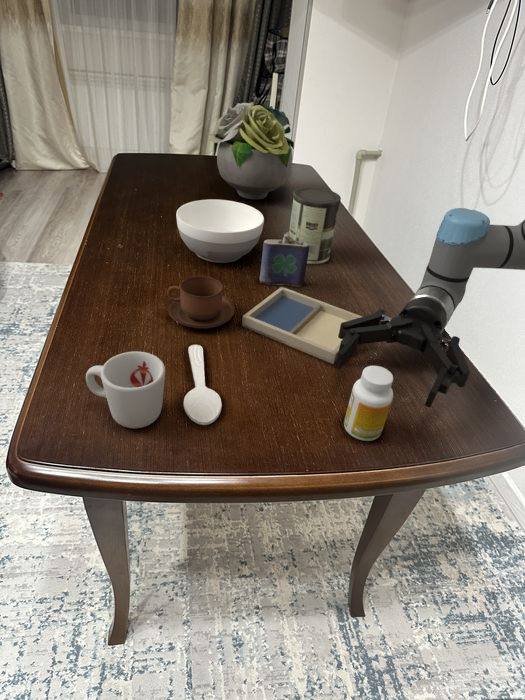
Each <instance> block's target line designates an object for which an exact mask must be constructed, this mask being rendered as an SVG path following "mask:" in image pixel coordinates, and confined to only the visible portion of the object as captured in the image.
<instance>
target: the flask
mask: <svg viewBox="0 0 525 700" xmlns="http://www.w3.org/2000/svg"><path fill="white" fill-rule="evenodd" d="M283 234H284V235H283V237H282V239H265V240H264V241H263V244H262V254H261V255H262V256H261V264H260V274H259V282H260V284H264V285H275V286H287V287H288V286H292V287H303V285H304V283H305V278H306V271H307V265H308V264H307V259H308V253H309V244H307V243H306V242H302V241H301V240H298V241H297V240H293V239H292V238H291V237H290V232H289V231H287V232H283ZM299 241H300V242H299Z"/></svg>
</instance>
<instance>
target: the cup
mask: <svg viewBox="0 0 525 700" xmlns="http://www.w3.org/2000/svg"><path fill="white" fill-rule="evenodd" d="M95 376H98V377H99V378H100V379H101V382H102V386H103V387H101V386H100V385H99V384H98V383H97V381H96V378H95ZM165 380H166V367H165V364H164V362H163V361H162V359H160V358H159V357H158V356H156V355H155V354H152V353H150V352H146V351H126V352H122V353H119V354H116V355H114V356H112V357H110V358H109V359H107V361H106V362H105V363H104V364H103V365H94V366H91V367H90V368H88V370H87V371H86V373H85V382H86V386H87V388H88V389H89V391H90V392H91V393H92V394H93V395H95V396H98V397H102V398H105V399H106V401H107V404H108V408H109V411H110V414H111V416H112V418H113V420H114V421H115V422H116V423H117V424H118V425H120V426H122V427H124V428H127V429H141V428H145V427H148V426H149V425H151V424H153V423H154V422H156V420H158V418H159V416H160V415H161V412H162V407H163V399H164V392H165V391H164V389H165Z"/></svg>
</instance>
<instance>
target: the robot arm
mask: <svg viewBox="0 0 525 700" xmlns="http://www.w3.org/2000/svg"><path fill="white" fill-rule="evenodd" d="M490 219H491V218H490V217H489V216H488V215H487V214H485V213H484V212H482V211H479V210H476V209H470V208H467V207H455V208H451V209H449V210H447V211H446V212H445V214H444V216H443V217H442V220H441V222H440V224H439V227H438V230H437V232H436V234H435V235H436V236H435V240H434V244H433V248H432V251H431V254H430V258H429V261H428V263H427V266H426V268H425V270H424V274H423V277H422V280H421V283H420V286H419V288H418V289H417V290H416V292H415V293H414V294H413V296H411V298H410V299H409V300H408V302H407V303H406V304H405V306H404V307H403V308H402V309H401V311H400V312H399V313H398V315H396V316H394V317H390V316H387V315H386V310H385V309H382V308H379V309H378V310H376V311H375V312H374V313H370V314H367V315H365V316H364V315H363V316H362V317H360V318H357V319H353V320H350V321H346V322H343V323H341V326H340V330H339V335H338V337H339V338H340V339H342V341H341V343H340V347H339V352H338V356H337V360H336V362H335V363H334V368H335V369H337V370H340V369H342V367H343V366H344V364H345V363H346V362H347V361H348V359H349V358H351V356H352V355H353V353H354V352H355V351H356V350H357V347H358V345H365V344H373V343H382V342H385V343H387V344H392V343H397V344H400V345H403V346H407V347H409V348H410V349H413V350H415V351H416V350H418V351H419V352H420V354H421V355H422V358H426V359H427V360H428V362H429V364H430V365H431V366H432V368H433V369H434V370H435V372H436V373H437V376H436V378H435V380H434V382H433V384H432V386H431V388H430V391H429V393H428V396H427V398H426V400H425V402H424V403H425V404H424V407H427V408H429V409H430V408H431V407H432V404H433V402H434V401H435V398H436V396H437V395H438V393H441V394H442V395H446V394H447V393H448V391H449V389H450V387H451V386H452V384H456V386H457V387H460V388H464V387H466V384H467V382H468V379H469V377H470V374H471V371H470V368H469V366H468V363H467V361H466V359H465V356H464V354H463V351H462V350H461V347H460V341H461V339H460V337H458V336H455V335H453V336H452V337H451V338H447V337H443V332H444V330H445V329H446V327H447V325H448V324H449V321H450V320H451V318H452V316H453V314H454V312H455V310H456V309H457V307H458V306H459V304H460V303H462V301H463V299H464V297H465V295H466V290H467V284H468V283H469V280H470V277H471V275H472V273H473V270H474V269H493V270H494V269H496V270H497V269H498V270H516V271H517V270H519V271H525V219H523V220H522V221H521V222H520V223H519V224H515V225H509V224H508V225H506V224H491V220H490ZM440 346H441V347H440Z"/></svg>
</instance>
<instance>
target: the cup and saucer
mask: <svg viewBox="0 0 525 700" xmlns="http://www.w3.org/2000/svg"><path fill="white" fill-rule="evenodd" d="M174 290H175V291H177V292H179V293H178V294H176V295H174V296H173V295H172V293H171V292H172V291H174ZM223 291H224V286H223V284H222V282H221V281H220V280H218V279H217V278H213V277H210V276H204V275H196V276H195V275H194V276H191V277H187V278H185V279H184V280H182V281H181V283H180V286H179V285H178V286H177V285H172V286H169V287H168V288H167V290H166V295H167V297H168V299H170V300H169V301H168V302H167V305H166V310H167V314H168V315H169V316H170V318H171V319H172V320H174V321H175V322H176V323H178V324H180V325H181V326H183V327H187V328H193V329H201V330H203V329H212V328H213V329H214V328H216V327H219V326H222V325H224V324H225V323H228V322H229V321H230V320H232V318H233V316H234V314H235V311H236V307H235V306H236V305H235V304H234V302H233V301H232V300H231V299H230V298H229V297H227V296H225V295H224V294H223Z"/></svg>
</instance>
